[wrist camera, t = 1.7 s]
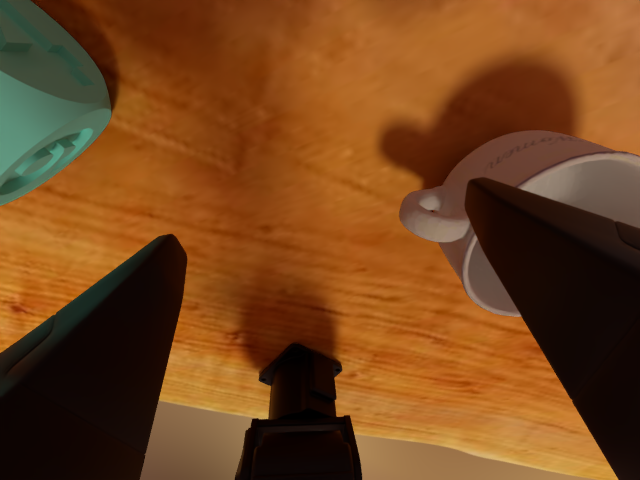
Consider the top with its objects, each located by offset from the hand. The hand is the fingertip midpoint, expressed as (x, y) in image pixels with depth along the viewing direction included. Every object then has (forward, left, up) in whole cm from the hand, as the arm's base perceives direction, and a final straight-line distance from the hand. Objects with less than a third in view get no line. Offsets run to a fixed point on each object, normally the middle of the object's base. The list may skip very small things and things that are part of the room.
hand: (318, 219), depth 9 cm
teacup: (+4, -12, -13) cm, 18 cm away
